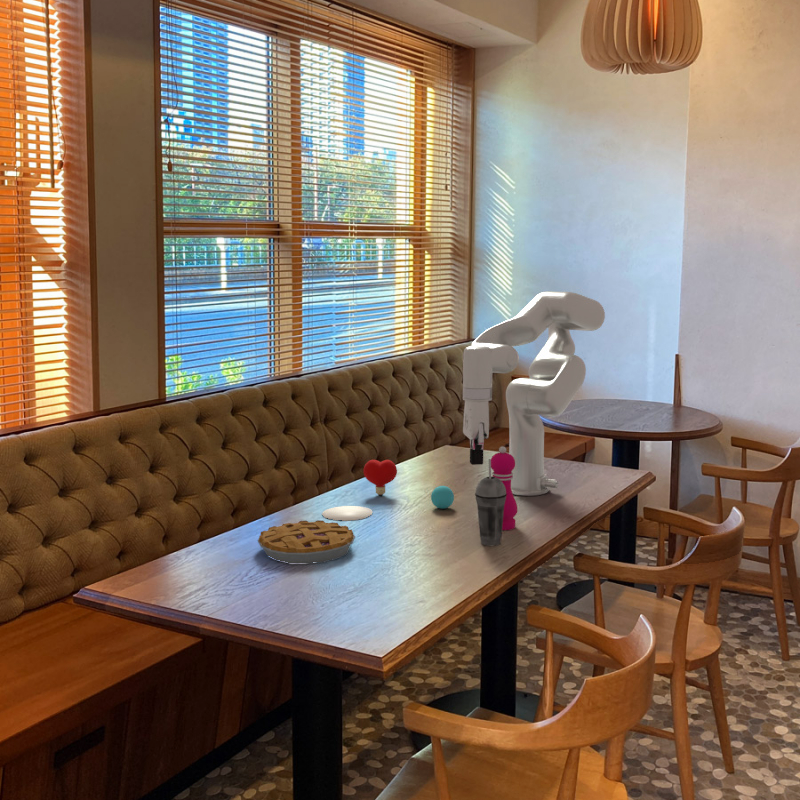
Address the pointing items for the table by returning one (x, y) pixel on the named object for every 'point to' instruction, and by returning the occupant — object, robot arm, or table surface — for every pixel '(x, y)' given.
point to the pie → (306, 541)
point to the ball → (442, 497)
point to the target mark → (347, 513)
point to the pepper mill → (505, 484)
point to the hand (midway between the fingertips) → (476, 463)
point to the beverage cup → (490, 508)
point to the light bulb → (380, 474)
